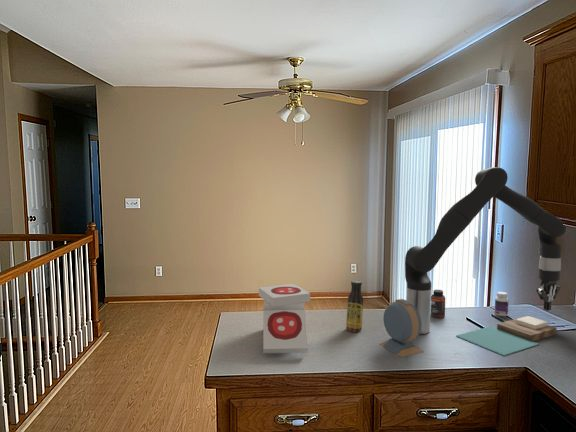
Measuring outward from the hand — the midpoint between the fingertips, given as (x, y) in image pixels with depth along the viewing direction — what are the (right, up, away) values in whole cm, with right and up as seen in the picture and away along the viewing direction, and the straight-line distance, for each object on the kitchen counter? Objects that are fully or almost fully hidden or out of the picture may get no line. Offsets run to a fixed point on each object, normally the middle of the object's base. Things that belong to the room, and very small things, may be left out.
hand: (547, 309), depth 177 cm
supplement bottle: (-40, -6, +13) cm, 42 cm away
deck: (-12, -7, -6) cm, 15 cm away
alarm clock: (-65, -9, -21) cm, 69 cm away
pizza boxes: (-106, -9, -15) cm, 108 cm away
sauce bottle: (-79, -7, -4) cm, 79 cm away
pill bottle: (-11, -5, +15) cm, 20 cm away
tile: (-9, -4, -5) cm, 11 cm away
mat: (-27, -8, -14) cm, 32 cm away
